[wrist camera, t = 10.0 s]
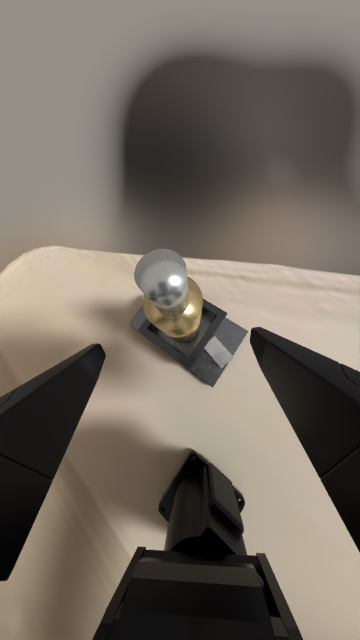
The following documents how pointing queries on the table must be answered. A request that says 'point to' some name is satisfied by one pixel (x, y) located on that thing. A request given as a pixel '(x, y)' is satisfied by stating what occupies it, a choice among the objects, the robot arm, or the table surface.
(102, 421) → the table surface
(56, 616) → the table surface
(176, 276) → the gold perfume bottle
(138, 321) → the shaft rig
